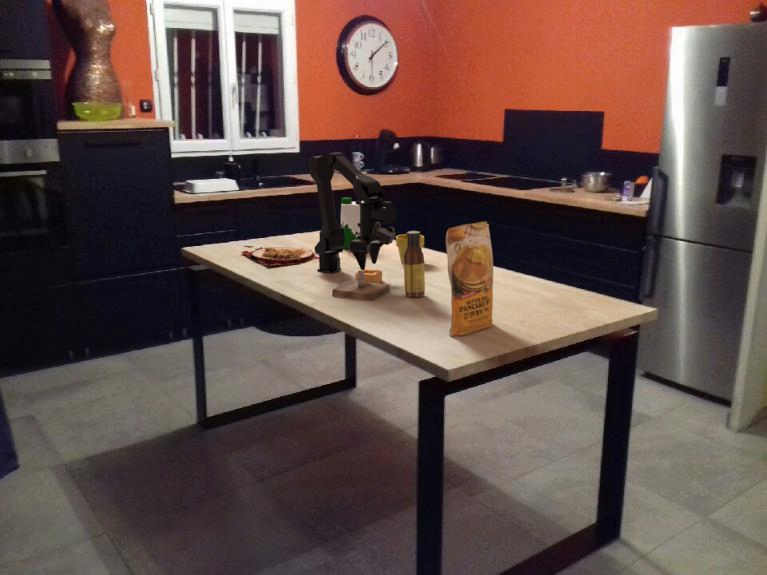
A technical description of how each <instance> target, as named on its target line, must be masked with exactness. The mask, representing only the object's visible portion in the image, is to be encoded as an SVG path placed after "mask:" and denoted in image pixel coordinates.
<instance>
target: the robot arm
mask: <svg viewBox="0 0 767 575" xmlns="http://www.w3.org/2000/svg"><path fill="white" fill-rule="evenodd" d="M307 165H308V166H307V167H308V170H309V174H310V177H311V178H312V180H313V181H314V182H315V184H316V189H317V196H318V203H319V211H320V217H321V223H322V226H321V229H320V230H319V231H320V232H319V240H318V242H316V245H315V246H314V247H313V248H314V254H316V255H317V256H318V255H319V256H318V257H319V259H318V266H319V268H318V269H316V271H317V272H322V273H323V272H324V273H332V274H333V273H336V272H337V271H339V270H341V269H342V267H341V257H340V253H344V252H343V250H344V249H343V247H344V245H345V239H346V238H345V235H344V229H343V228H341V226H339V224H338V222H337V215H336V208H335V201H334V194H333V188H332V179H333V176H334V175H335V170H336V171H338V173H340V175H342V177H344V178H345V179H346V180H347V181H348V182H349V183H350V184H351V185H352V189H353V192H354V193H355V195H356V196H357V197H358V200H356V201H354V202H355V204H357V205H360V223H358V227H360V235H359V236H358V239H361V240H358V239H355V240H353V241H351V242H350V243H349V249H348V251H350V252H351V253H352V254H353V256H354V258H355V260H356V261H357V264H358V266H359V268H360V270H365V269H366V264H367V256H368V254H369V257H370V260H371V264H373V265H375V264H377V260H378V258H379V254H380V250H381V248H382V247H383V246H385V245H386V246H389V245H390V244H393V241H394V239H396V236H397V235H396V231H395V227H393V226H389V227H387V228H385V227H384V228H383V227H381V223H383V224H386V225H392V224H393V223H394V222H396V220H397V216H398V212H397V209H396V207H395V206H393V202H392V201H388V199H387V197H386V195H385V193H384V191H383V188H382V186H381V183H380V182H379V181H378V180H377V179H375V178H374V177H372V176H369V175H366V174H364V173H363V172H361V171H360V169H358V168H357V167H356V166H355V165H354V164H353V163H352V162H351V161H350V160H349V159H347V157H345V154H344V153H343V152H330V153H328V154H325V155H321V156H320V155H319V156H311V158H310V159H309V161H308V162H307Z"/></svg>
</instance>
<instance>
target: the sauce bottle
mask: <svg viewBox="0 0 767 575" xmlns="http://www.w3.org/2000/svg"><path fill="white" fill-rule="evenodd" d="M406 234H407V239H408V244H407V249H406V251H405V253H404V264H403V273H404V275H403V276H404V278H403V279H404V281H403V282H404V283H403V284H404V294H405V296H406V297H407V298H417V299H418V298H421V297H424V296H425V292H426V291H425V290H426V282H425V280H426V278H425V274H426V273H425V256H424V253H423V250H421V248H420V235H421V232H420V231H417V230H410V231H407V232H406Z"/></svg>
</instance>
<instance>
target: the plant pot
mask: <svg viewBox="0 0 767 575" xmlns="http://www.w3.org/2000/svg"><path fill="white" fill-rule="evenodd" d="M395 236H396V237H395V247H397V249H398V254H399V258H400V263H401V264H403V265H404V253H405V251H406V249H407V244H408V239H407V233H405V234H399V235H395ZM423 247H425V236H424V235H422V234H420V248H421V250H422V249H423ZM422 251H423V250H422Z"/></svg>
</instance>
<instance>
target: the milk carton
mask: <svg viewBox="0 0 767 575" xmlns="http://www.w3.org/2000/svg"><path fill="white" fill-rule="evenodd" d="M355 202H356V201H352V197H342V198H341V203H340V228H343V229H344V235H345V238H346V239H345V245H344V247H343V250H349V243H350V242H351V241H353V240H355V239H358V236H359V235H360V227H358V223H360V205H357V204H355ZM358 240H361V239H358Z"/></svg>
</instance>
